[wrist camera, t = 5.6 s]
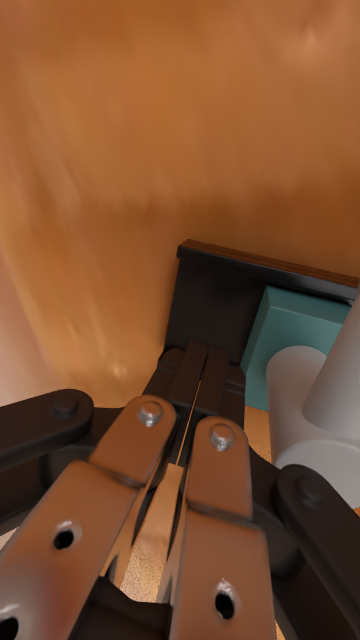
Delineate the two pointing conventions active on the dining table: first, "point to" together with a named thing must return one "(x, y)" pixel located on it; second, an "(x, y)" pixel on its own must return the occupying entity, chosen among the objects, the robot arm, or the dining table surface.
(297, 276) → the rail
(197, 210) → the dining table surface
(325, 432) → the handle
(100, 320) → the dining table surface
